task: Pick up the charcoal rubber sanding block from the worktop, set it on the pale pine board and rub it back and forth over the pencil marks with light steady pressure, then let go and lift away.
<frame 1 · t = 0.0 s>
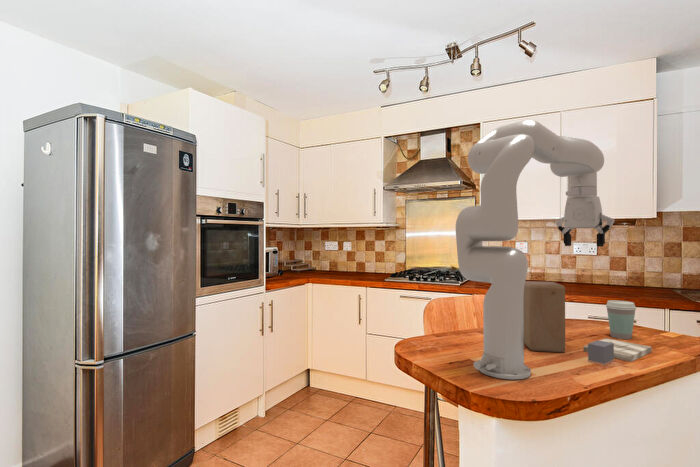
hand: (583, 246, 124), 31 cm above the table, tool pointing down, fingers open, 9 cm apart
wooden block: (543, 348, 118), on the table
coffee cup: (620, 337, 130), on the table
board: (617, 351, 114), on the table
sanding block: (601, 361, 105), on the table
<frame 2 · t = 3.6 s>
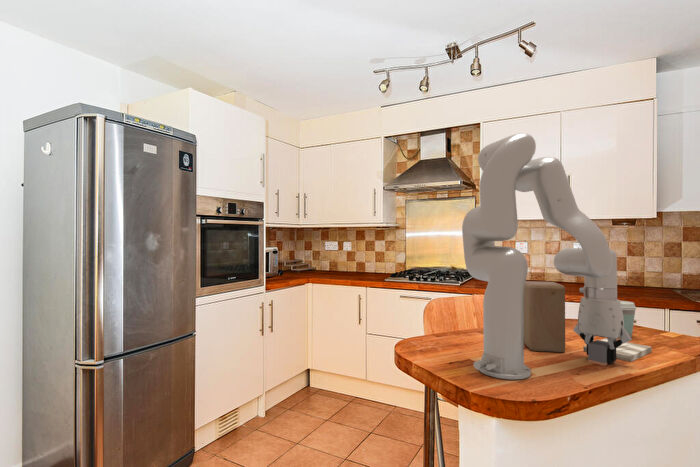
hand: (601, 359, 105), 0 cm above the table, tool pointing down, fingers closed on sanding block, 4 cm apart
sanding block: (601, 361, 105), on the table, touching gripper
everything else where it was.
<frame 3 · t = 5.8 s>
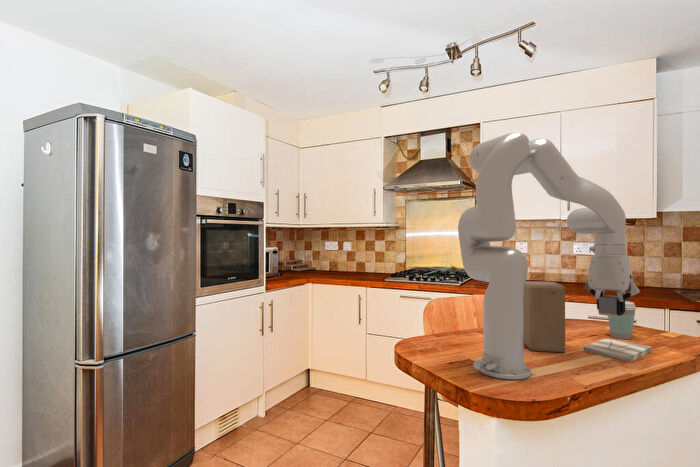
hand: (610, 312, 111), 12 cm above the table, tool pointing down, fingers closed on sanding block, 4 cm apart
sanding block: (611, 314, 111), point 12 cm above the table, touching gripper
everything else where it was.
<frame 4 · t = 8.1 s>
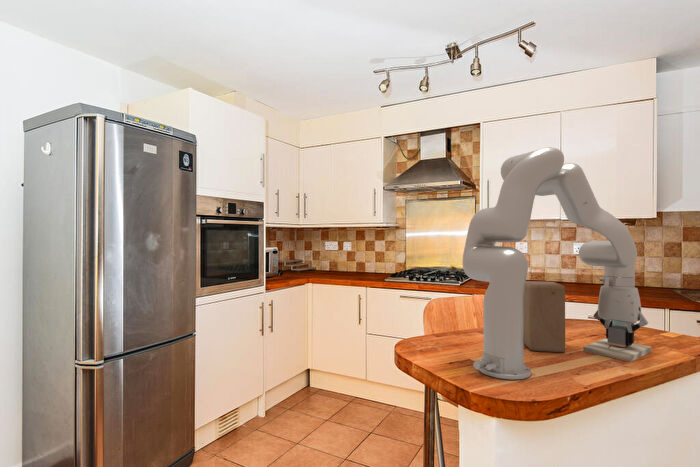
hand: (619, 342, 115), 2 cm above the table, tool pointing down, fingers closed on sanding block, 4 cm apart
sanding block: (619, 344, 115), point 2 cm above the table, touching gripper
everything else where it was.
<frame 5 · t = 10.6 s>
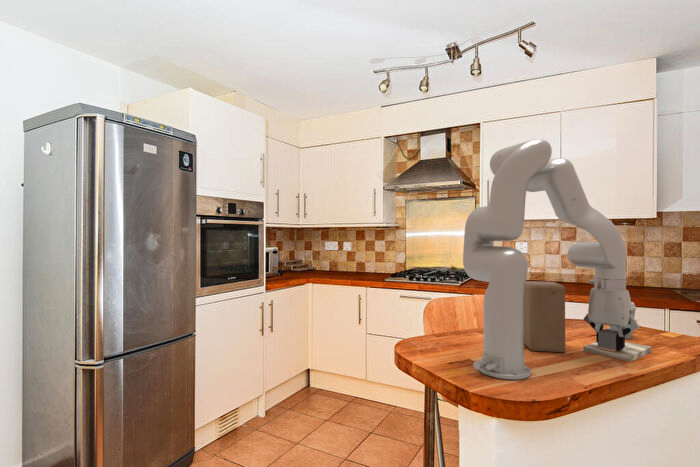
hand: (610, 347, 111), 2 cm above the table, tool pointing down, fingers closed on sanding block, 4 cm apart
sanding block: (610, 348, 111), point 2 cm above the table, touching gripper
everything else where it was.
when the fingers open (3 cm above the table, at t = 12.7 s): sanding block stays where it is, resting on board.
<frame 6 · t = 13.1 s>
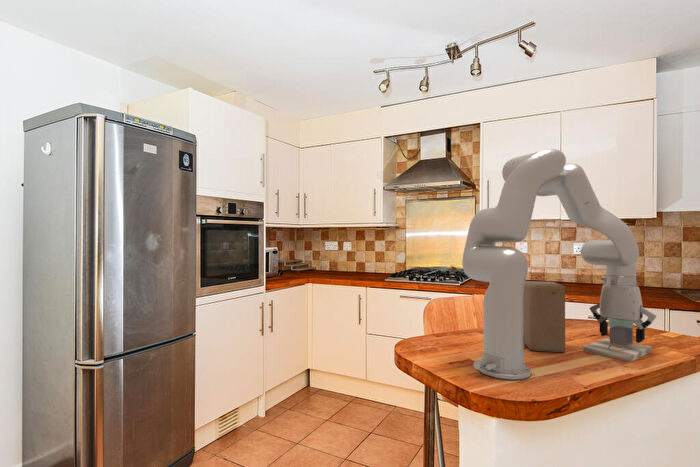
hand: (621, 338, 116), 3 cm above the table, tool pointing down, fingers open, 8 cm apart
sanding block: (621, 344, 116), point 2 cm above the table, touching board
everything else where it was.
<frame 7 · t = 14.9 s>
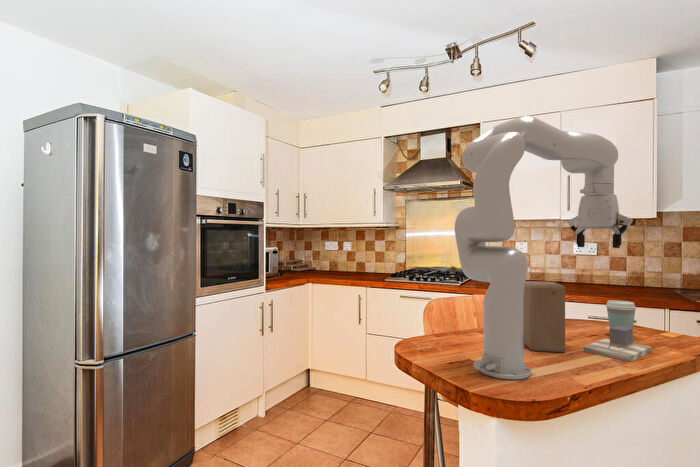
hand: (597, 247, 116), 31 cm above the table, tool pointing down, fingers open, 9 cm apart
nothing on the table moved.
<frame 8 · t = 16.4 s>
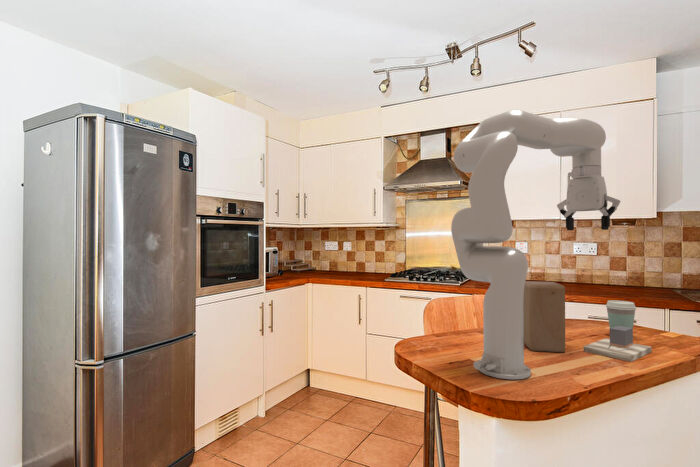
hand: (587, 229, 116), 36 cm above the table, tool pointing down, fingers open, 9 cm apart
nothing on the table moved.
at the end: sanding block inside the target area on the board (3.0 cm from its centre), point 1.5 cm above the board's base; sanding block tilted 0°; the gripper is holding nothing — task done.
